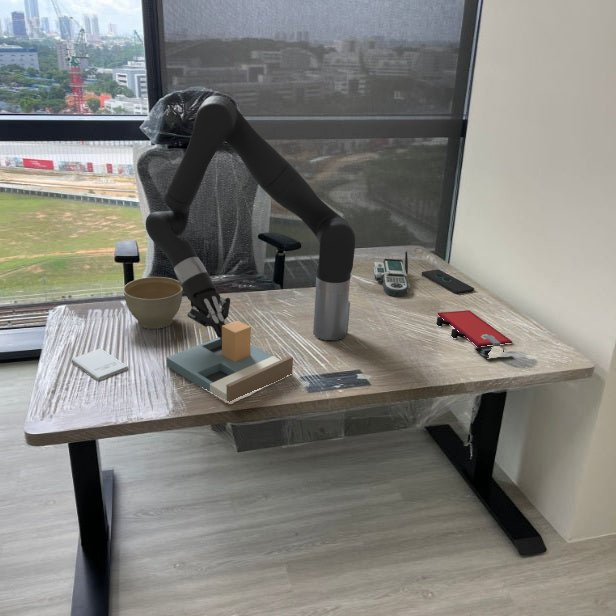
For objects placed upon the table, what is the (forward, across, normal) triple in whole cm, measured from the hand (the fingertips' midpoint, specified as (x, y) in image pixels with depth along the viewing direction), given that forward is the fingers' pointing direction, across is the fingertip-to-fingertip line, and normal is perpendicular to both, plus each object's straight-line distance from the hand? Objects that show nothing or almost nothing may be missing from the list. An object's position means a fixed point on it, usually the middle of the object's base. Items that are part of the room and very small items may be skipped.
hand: (225, 337), depth 152 cm
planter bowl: (-16, -2, +25) cm, 30 cm away
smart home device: (+12, +92, -2) cm, 93 cm away
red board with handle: (+31, +62, -22) cm, 72 cm away
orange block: (+6, 0, -1) cm, 6 cm away
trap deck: (+8, -4, 0) cm, 9 cm away
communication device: (+3, +76, +7) cm, 76 cm away
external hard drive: (-8, -26, +17) cm, 32 cm away
